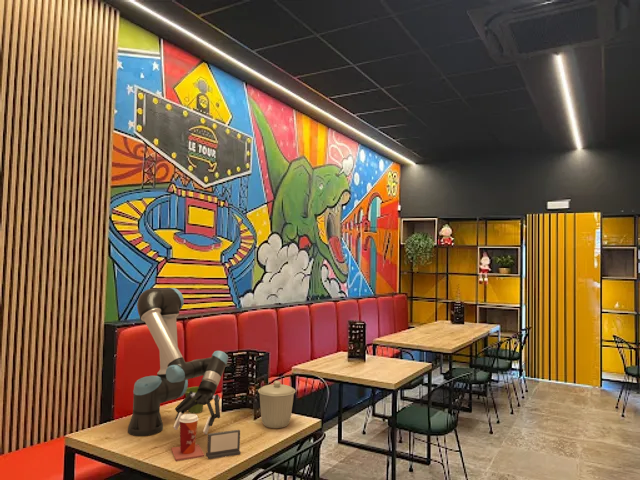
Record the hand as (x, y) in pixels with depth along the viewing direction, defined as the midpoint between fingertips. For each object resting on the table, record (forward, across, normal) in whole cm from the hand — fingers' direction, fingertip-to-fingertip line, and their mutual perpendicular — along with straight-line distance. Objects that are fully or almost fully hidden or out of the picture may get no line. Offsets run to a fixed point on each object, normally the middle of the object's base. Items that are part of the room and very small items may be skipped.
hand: (189, 430), depth 190 cm
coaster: (+7, +1, -6) cm, 9 cm away
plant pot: (-26, +25, -41) cm, 55 cm away
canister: (-23, -22, -37) cm, 49 cm away
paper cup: (+6, +1, -6) cm, 8 cm away
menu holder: (+4, -14, -9) cm, 17 cm away
